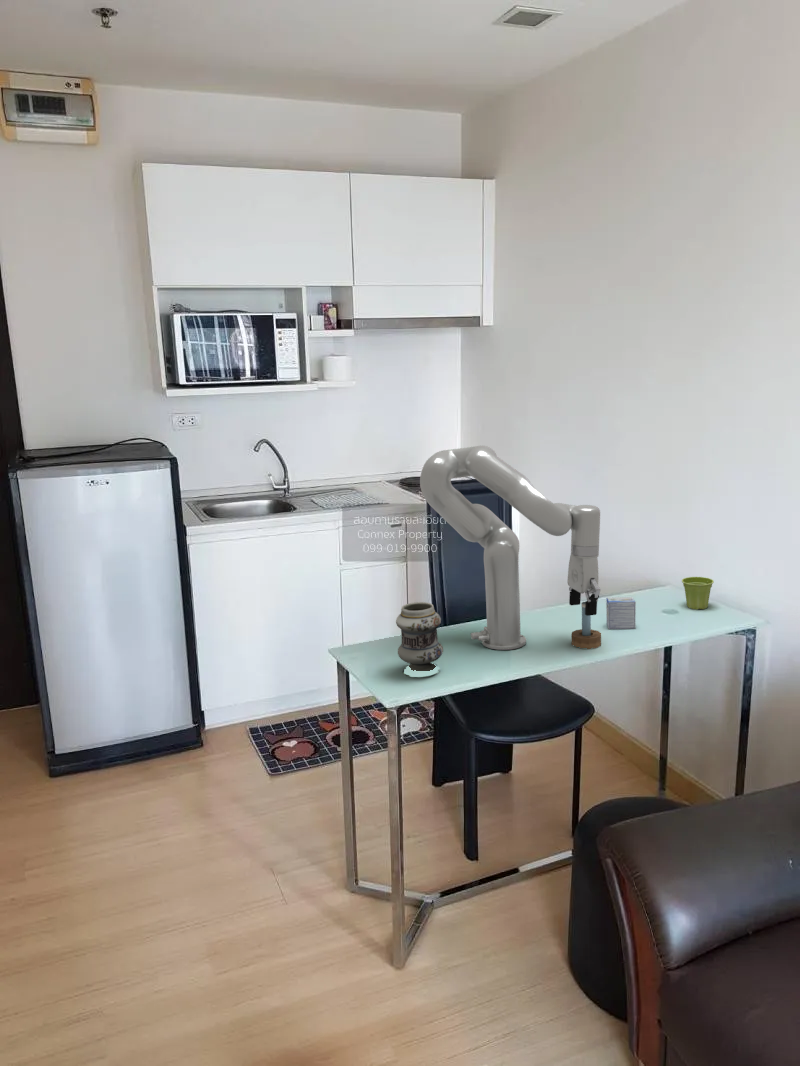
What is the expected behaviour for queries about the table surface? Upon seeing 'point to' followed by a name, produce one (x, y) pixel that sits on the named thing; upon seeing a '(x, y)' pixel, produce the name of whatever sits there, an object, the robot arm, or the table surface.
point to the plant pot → (697, 591)
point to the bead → (586, 639)
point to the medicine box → (621, 612)
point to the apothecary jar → (419, 635)
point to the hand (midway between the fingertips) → (582, 609)
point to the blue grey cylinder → (585, 622)
